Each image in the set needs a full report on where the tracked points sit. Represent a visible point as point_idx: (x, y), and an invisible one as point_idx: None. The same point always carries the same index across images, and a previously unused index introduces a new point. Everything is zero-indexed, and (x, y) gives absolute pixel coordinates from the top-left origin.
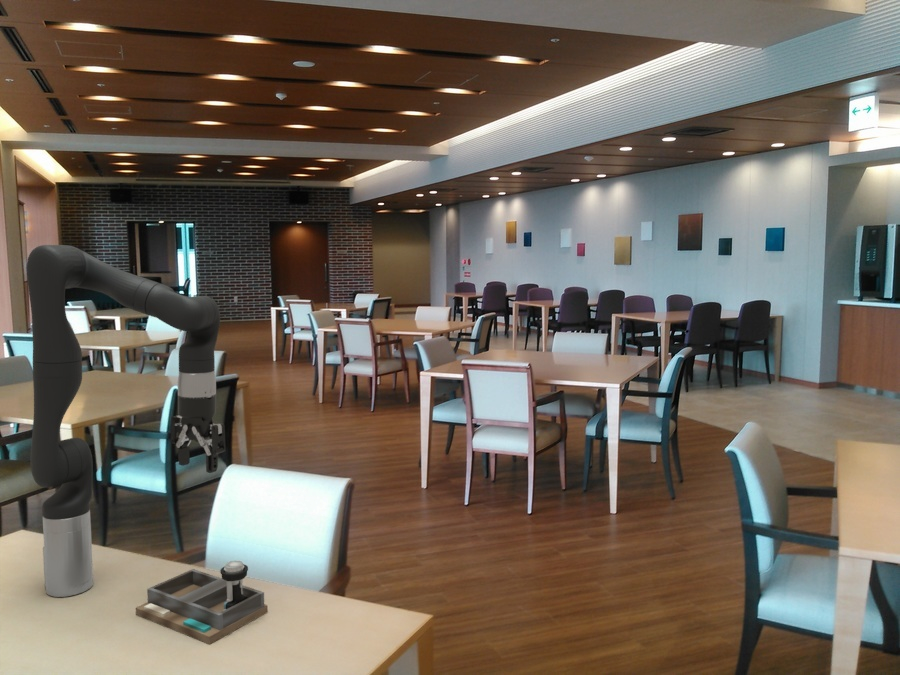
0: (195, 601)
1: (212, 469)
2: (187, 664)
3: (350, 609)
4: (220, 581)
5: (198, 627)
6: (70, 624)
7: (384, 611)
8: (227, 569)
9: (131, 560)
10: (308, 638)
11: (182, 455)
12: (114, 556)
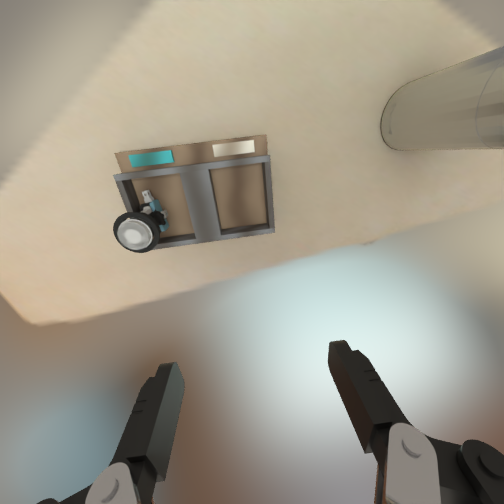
0: (181, 179)
1: (146, 384)
2: (84, 100)
3: (99, 298)
4: (212, 234)
5: (140, 154)
6: (313, 49)
7: (73, 315)
8: (128, 221)
9: (399, 217)
10: (61, 237)
11: (350, 387)
12: (428, 209)
